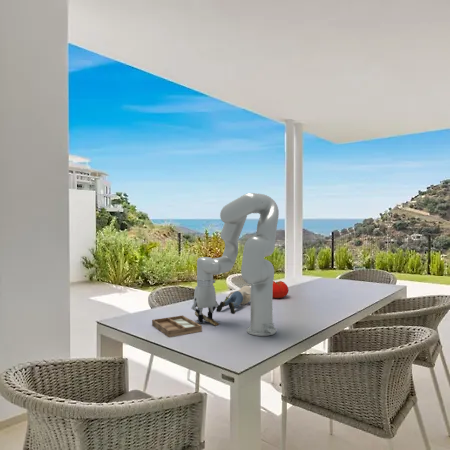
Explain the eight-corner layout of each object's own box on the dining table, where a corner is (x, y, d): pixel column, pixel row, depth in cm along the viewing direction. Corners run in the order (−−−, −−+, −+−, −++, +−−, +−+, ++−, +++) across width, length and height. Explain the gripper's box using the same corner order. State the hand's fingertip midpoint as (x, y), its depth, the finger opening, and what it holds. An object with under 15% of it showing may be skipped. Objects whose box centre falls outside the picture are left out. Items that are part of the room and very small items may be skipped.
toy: (245, 319, 192) (267, 303, 219) (245, 300, 191) (267, 285, 218) (206, 314, 203) (231, 299, 230) (205, 296, 202) (231, 282, 229)
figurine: (219, 328, 176) (197, 316, 186) (220, 319, 175) (198, 307, 185) (213, 330, 173) (192, 317, 183) (214, 321, 172) (193, 309, 182)
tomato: (285, 294, 245) (285, 279, 245) (290, 300, 229) (290, 283, 228) (263, 294, 244) (263, 279, 244) (266, 300, 228) (266, 283, 228)
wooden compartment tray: (201, 331, 165) (201, 325, 165) (169, 337, 157) (168, 331, 157) (182, 320, 183) (182, 315, 183) (152, 325, 175) (152, 319, 175)
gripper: (216, 280, 187) (216, 317, 187) (185, 283, 178) (185, 322, 178) (224, 282, 180) (224, 321, 180) (192, 286, 171) (192, 326, 172)
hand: (205, 321), depth 179 cm, fingers closed on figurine, 4 cm apart
